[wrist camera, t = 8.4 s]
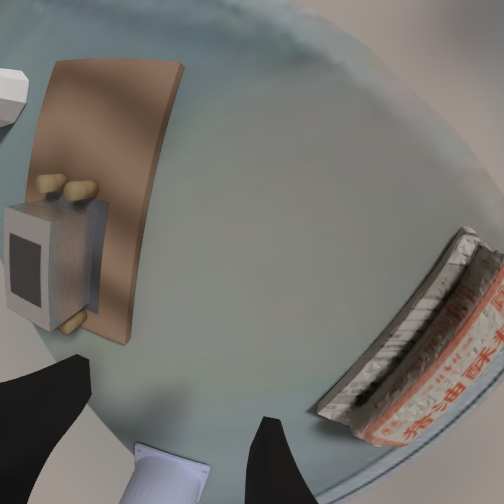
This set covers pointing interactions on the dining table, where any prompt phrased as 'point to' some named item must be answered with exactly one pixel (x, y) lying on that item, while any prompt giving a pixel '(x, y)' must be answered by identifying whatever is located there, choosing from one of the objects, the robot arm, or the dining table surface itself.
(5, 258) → the block
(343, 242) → the dining table surface
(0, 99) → the salt shaker
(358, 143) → the dining table surface
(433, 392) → the packaged product
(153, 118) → the walnut tray
